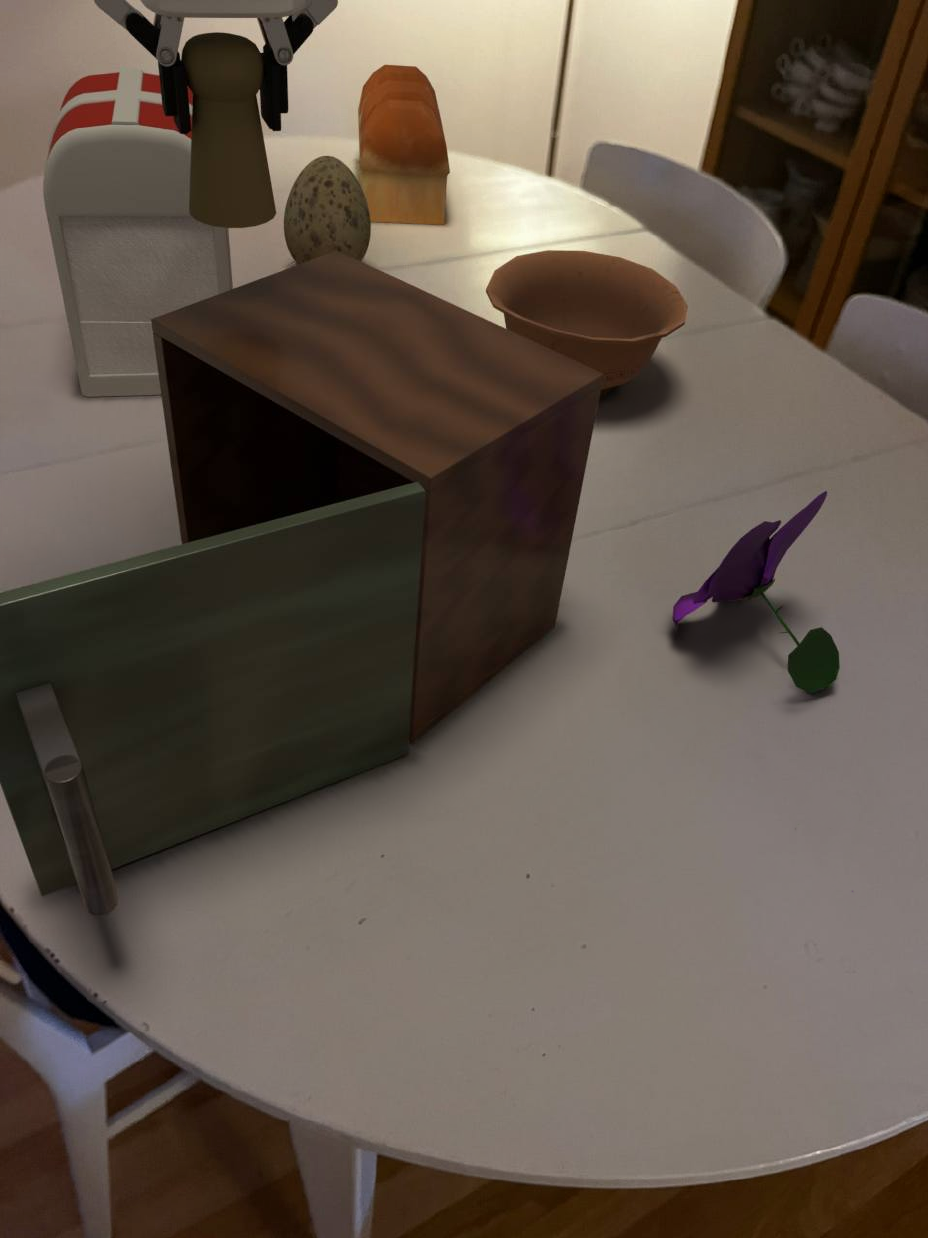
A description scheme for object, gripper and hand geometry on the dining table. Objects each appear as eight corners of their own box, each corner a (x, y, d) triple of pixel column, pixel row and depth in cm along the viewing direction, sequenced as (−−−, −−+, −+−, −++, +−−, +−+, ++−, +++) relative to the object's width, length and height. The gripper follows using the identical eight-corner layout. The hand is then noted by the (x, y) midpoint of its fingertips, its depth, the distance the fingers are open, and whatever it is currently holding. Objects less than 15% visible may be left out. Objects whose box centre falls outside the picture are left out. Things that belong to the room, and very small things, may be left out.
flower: (821, 677, 92) (733, 554, 94) (951, 611, 79) (847, 471, 81) (721, 754, 84) (628, 619, 86) (848, 695, 71) (736, 538, 73)
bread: (446, 225, 147) (453, 116, 137) (359, 222, 146) (360, 111, 136) (435, 163, 165) (440, 63, 155) (357, 159, 164) (358, 58, 154)
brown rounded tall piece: (217, 234, 69) (202, 53, 61) (172, 203, 72) (153, 28, 64) (293, 217, 72) (288, 43, 64) (247, 188, 75) (237, 19, 68)
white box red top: (79, 397, 106) (24, 122, 88) (90, 318, 119) (44, 63, 101) (240, 392, 110) (220, 126, 91) (235, 315, 122) (216, 68, 104)
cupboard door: (455, 823, 71) (487, 559, 54) (71, 989, 60) (-29, 721, 44) (402, 744, 75) (417, 480, 59) (37, 885, 65) (-64, 608, 48)
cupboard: (411, 745, 76) (430, 478, 59) (186, 581, 87) (150, 318, 71) (555, 627, 86) (604, 373, 70) (338, 494, 98) (337, 249, 81)
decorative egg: (353, 302, 127) (354, 178, 117) (272, 285, 129) (266, 162, 118) (380, 268, 135) (384, 150, 125) (304, 253, 136) (301, 135, 126)
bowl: (445, 395, 113) (452, 301, 105) (521, 317, 128) (532, 231, 120) (634, 454, 107) (656, 360, 99) (690, 366, 122) (713, 278, 115)
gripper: (42, -233, 51) (99, 150, 63) (373, -207, 56) (366, 140, 68) (32, -246, 56) (87, 110, 68) (337, -222, 61) (337, 105, 73)
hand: (227, 122), depth 68 cm, fingers closed on brown rounded tall piece, 5 cm apart
